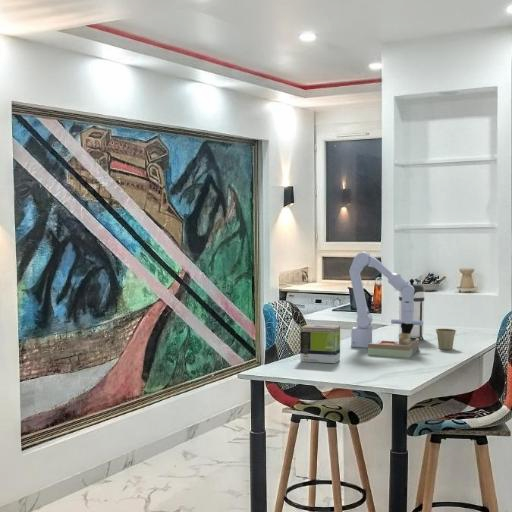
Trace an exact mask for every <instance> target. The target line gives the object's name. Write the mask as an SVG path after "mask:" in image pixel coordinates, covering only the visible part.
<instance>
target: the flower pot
mask: <svg viewBox="0 0 512 512" xmlns="http://www.w3.org/2000/svg"><path fill="white" fill-rule="evenodd" d="M435 332H436V334H437V344H438V349H441V350H452V349H453V347H454V340H455V335H456V332H457V329H453V328H436V329H435Z"/></svg>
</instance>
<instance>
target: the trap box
mask: <svg viewBox="0 0 512 512" xmlns="http://www.w3.org/2000/svg"><path fill="white" fill-rule="evenodd" d="M419 349H420V340H419V338H415V339H414V340H413V341H411V343H410V344H409V345H405V344H399V341H395V340H379V341H377V342H375V343H373V342H372V343H368V348H367V355H368V356H377V357H378V356H380V357H391V358H393V357H394V358H395V357H396V358H407V359H409V358H411V357H412V356H413V355H414V354H416V352H418V351H419Z"/></svg>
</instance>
